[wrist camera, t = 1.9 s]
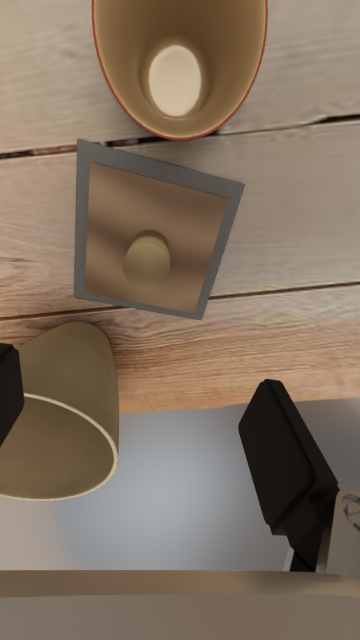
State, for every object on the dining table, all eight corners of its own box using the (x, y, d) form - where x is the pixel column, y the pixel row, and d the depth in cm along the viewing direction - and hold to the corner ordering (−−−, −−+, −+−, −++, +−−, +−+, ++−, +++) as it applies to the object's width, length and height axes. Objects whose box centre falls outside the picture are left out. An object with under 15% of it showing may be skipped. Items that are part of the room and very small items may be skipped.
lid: (93, 162, 23) (67, 160, 17) (226, 197, 25) (244, 206, 19) (87, 288, 30) (66, 319, 24) (193, 308, 32) (199, 341, 26)
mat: (79, 139, 23) (77, 138, 22) (243, 184, 25) (245, 184, 25) (75, 295, 31) (73, 297, 30) (201, 318, 33) (201, 320, 33)
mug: (199, 167, 24) (217, 167, 16) (110, 123, 22) (74, 93, 14) (267, -4, 19) (354, -154, 10) (158, -85, 17) (148, -361, 8)
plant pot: (157, 328, 34) (150, 437, 20) (107, 395, 40) (76, 513, 26) (46, 269, 29) (-61, 360, 15) (8, 355, 35) (-93, 475, 21)
